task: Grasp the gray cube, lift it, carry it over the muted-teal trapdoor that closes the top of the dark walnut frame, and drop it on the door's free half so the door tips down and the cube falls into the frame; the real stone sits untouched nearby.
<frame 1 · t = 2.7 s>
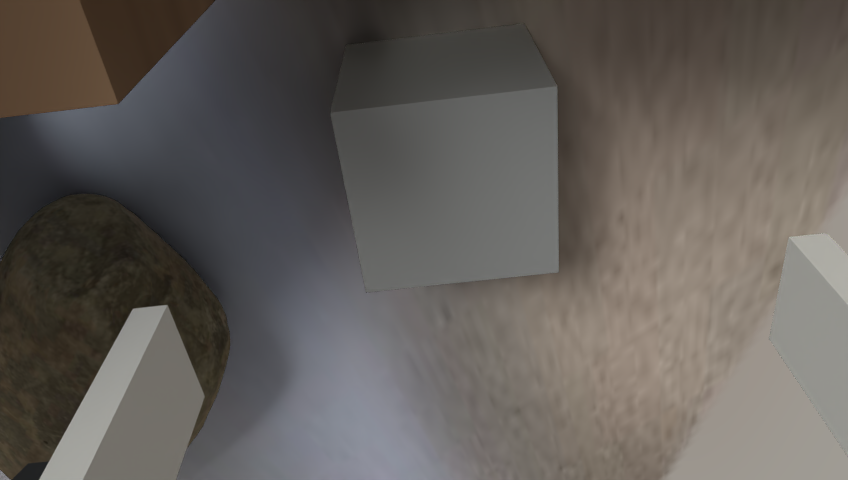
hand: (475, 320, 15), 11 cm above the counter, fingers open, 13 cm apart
gray cube: (443, 116, 25), on the counter
stone: (119, 330, 30), on the counter
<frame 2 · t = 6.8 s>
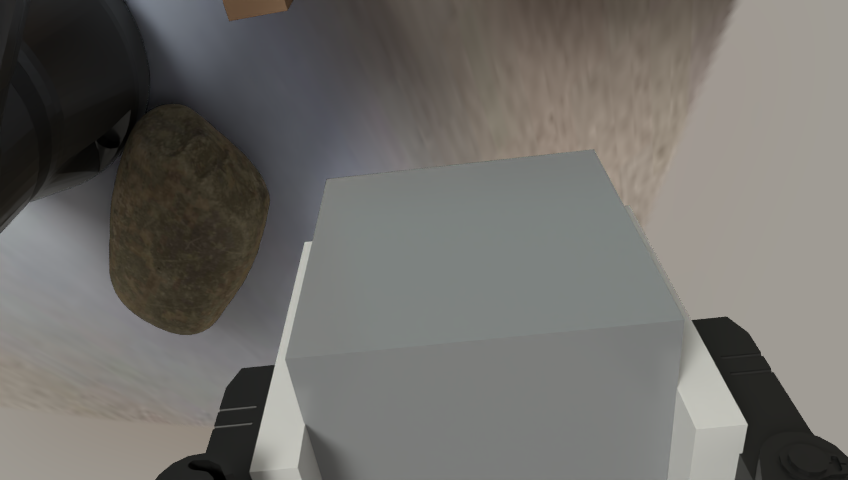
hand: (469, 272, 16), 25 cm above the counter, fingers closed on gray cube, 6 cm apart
gray cube: (469, 273, 17), point 24 cm above the counter, touching gripper
stone: (196, 208, 44), on the counter
when the fingers open (18 cm above the counter, at t = 8.6 s): gray cube drops 9 cm and tips over, point 8 cm above the counter.
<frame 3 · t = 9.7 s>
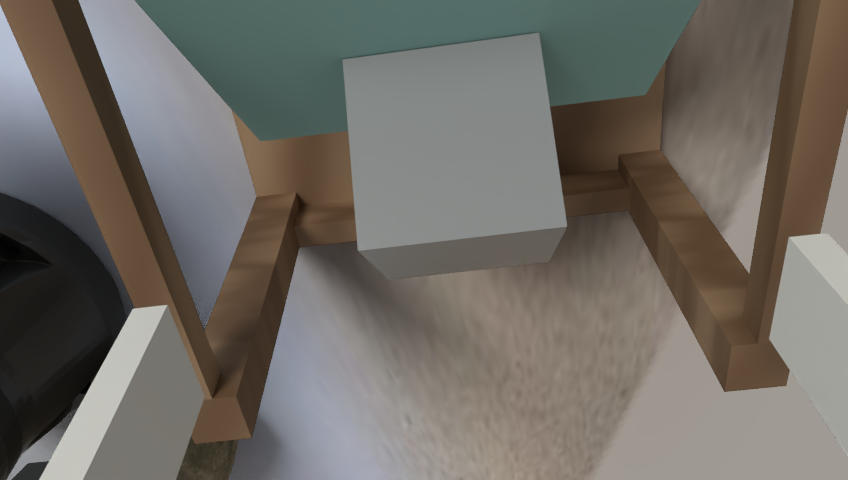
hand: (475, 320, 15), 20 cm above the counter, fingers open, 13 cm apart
gray cube: (445, 87, 24), point 8 cm above the counter, tilted 46°
stone: (168, 424, 45), on the counter
frame: (436, 3, 30), on the counter
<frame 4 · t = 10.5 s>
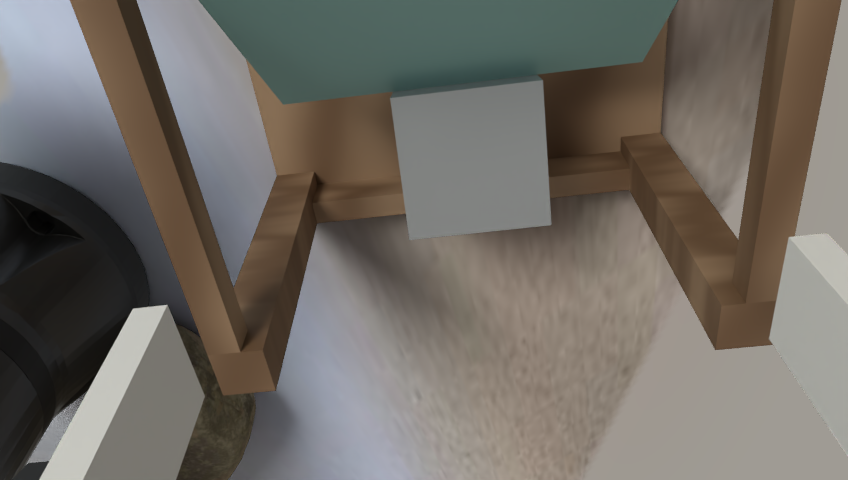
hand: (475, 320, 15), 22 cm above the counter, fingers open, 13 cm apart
gray cube: (463, 79, 30), point 5 cm above the counter, tilted 78°, touching frame, trapdoor
stone: (187, 397, 47), on the counter
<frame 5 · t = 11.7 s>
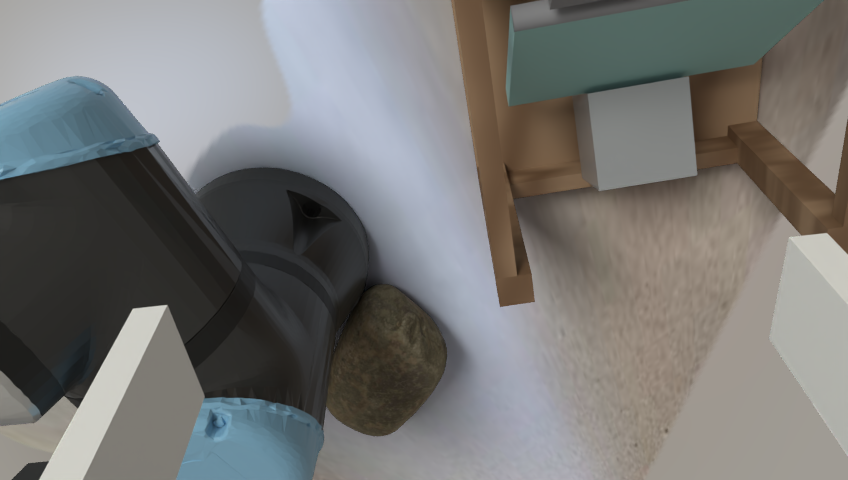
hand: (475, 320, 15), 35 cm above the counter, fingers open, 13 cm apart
gray cube: (626, 85, 44), point 4 cm above the counter, tilted 70°, touching frame, trapdoor
stone: (383, 344, 61), on the counter
frame: (607, 30, 46), on the counter
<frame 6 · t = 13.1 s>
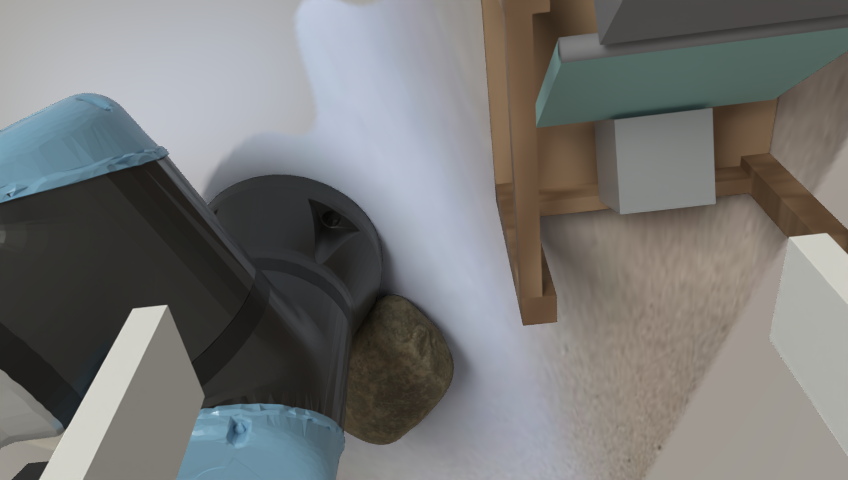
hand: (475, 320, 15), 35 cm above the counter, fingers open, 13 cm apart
trapdoor: (697, 24, 35), point 11 cm above the counter, hinge at 52.0°, touching gray cube
gray cube: (648, 112, 45), point 4 cm above the counter, tilted 69°, touching frame, trapdoor
stone: (388, 353, 62), on the counter
frame: (631, 58, 47), on the counter
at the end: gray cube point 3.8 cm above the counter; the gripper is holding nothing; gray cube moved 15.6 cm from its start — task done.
